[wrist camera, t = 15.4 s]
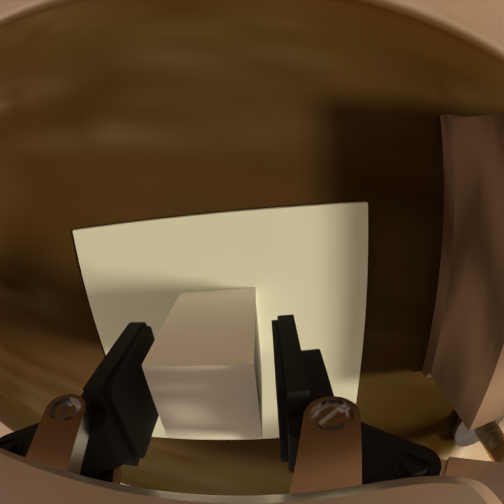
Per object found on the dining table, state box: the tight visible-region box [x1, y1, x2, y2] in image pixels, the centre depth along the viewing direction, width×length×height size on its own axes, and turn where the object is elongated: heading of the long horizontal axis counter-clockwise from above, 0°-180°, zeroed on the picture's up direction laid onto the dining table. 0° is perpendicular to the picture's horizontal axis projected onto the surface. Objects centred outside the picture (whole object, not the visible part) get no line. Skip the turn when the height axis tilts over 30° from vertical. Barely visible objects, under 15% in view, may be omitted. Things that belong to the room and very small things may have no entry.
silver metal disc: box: [451, 415, 503, 446], centre depth 15 cm, size 4×4×1 cm
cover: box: [73, 202, 368, 440], centre depth 11 cm, size 12×12×6 cm
